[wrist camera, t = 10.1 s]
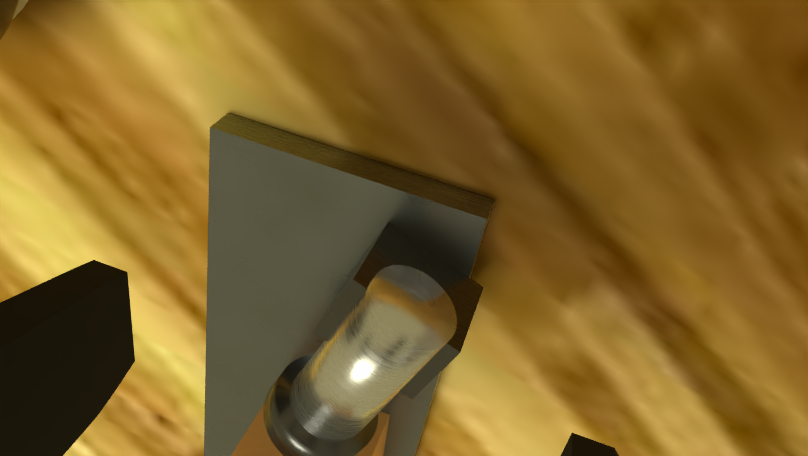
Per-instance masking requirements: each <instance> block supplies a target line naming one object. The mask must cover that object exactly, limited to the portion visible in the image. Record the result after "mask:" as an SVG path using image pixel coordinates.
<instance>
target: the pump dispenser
mask: <svg viewBox="0 0 808 456" xmlns="http://www.w3.org/2000/svg"><path fill="white" fill-rule="evenodd" d="M28 1H29V0H0V40H1V38H2V37H3V35H4V34H5V32H6V31H7V29H8V27H9V25H10V23H11V21H12V20H13V19H14V18H15V17H16V16H17V15H18V13H19V12H20V11H21V10H22V9H23V8H24V6H25V5H26V4H27V2H28Z"/></svg>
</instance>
